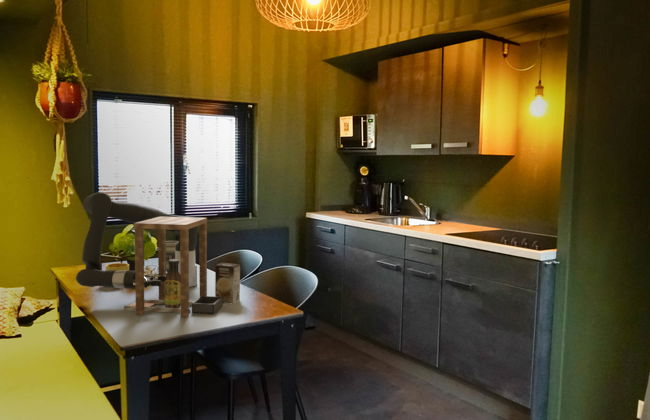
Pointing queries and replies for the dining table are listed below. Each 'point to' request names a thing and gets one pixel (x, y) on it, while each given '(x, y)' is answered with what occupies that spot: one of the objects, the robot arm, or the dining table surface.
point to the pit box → (207, 305)
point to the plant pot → (117, 266)
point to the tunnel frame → (162, 225)
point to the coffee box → (227, 282)
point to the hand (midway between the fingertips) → (164, 281)
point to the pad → (144, 304)
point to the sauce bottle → (173, 286)
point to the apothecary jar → (170, 252)
